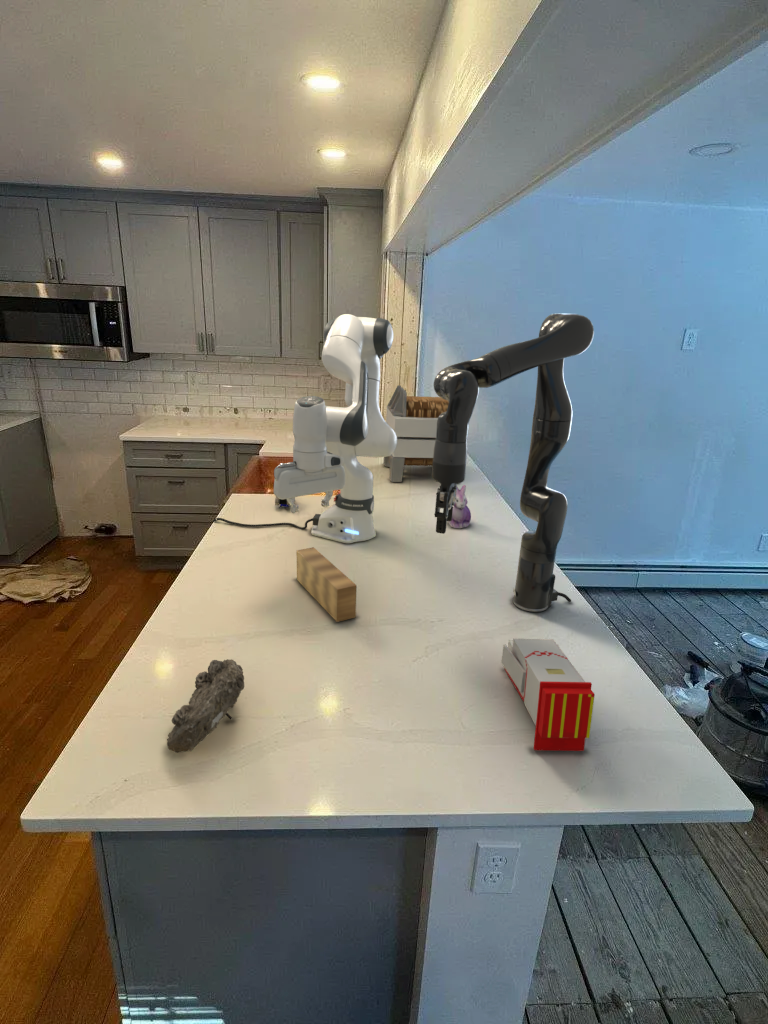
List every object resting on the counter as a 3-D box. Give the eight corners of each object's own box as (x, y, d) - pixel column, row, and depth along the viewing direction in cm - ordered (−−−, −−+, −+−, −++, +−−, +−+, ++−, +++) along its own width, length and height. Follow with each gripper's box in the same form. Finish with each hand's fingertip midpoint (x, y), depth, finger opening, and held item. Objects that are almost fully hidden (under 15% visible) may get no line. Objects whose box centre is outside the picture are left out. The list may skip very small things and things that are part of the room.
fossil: (192, 660, 117) (244, 628, 112) (224, 691, 120) (276, 661, 115) (142, 746, 98) (202, 712, 93) (182, 779, 101) (242, 748, 96)
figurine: (456, 530, 205) (460, 491, 199) (441, 521, 213) (444, 483, 208) (477, 527, 209) (481, 488, 204) (461, 518, 217) (465, 480, 212)
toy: (549, 621, 128) (604, 690, 99) (544, 676, 131) (595, 758, 101) (496, 620, 128) (535, 688, 98) (492, 675, 130) (528, 757, 101)
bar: (296, 579, 163) (296, 550, 160) (313, 575, 166) (313, 547, 163) (336, 622, 142) (337, 589, 139) (355, 617, 145) (356, 585, 142)
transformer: (382, 463, 289) (386, 382, 275) (445, 464, 293) (451, 384, 279) (390, 482, 257) (394, 392, 243) (460, 483, 261) (468, 394, 247)
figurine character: (292, 514, 217) (296, 498, 230) (291, 496, 214) (296, 480, 227) (274, 514, 217) (280, 497, 230) (273, 496, 213) (279, 480, 227)
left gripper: (279, 467, 141) (280, 519, 146) (348, 457, 153) (347, 506, 157) (268, 461, 146) (269, 512, 150) (336, 452, 157) (335, 500, 162)
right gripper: (461, 469, 120) (455, 539, 126) (470, 454, 133) (464, 518, 139) (426, 465, 122) (421, 535, 128) (439, 450, 135) (434, 514, 141)
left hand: (310, 509), depth 154 cm, fingers open, 8 cm apart
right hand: (444, 526), depth 133 cm, fingers open, 8 cm apart
